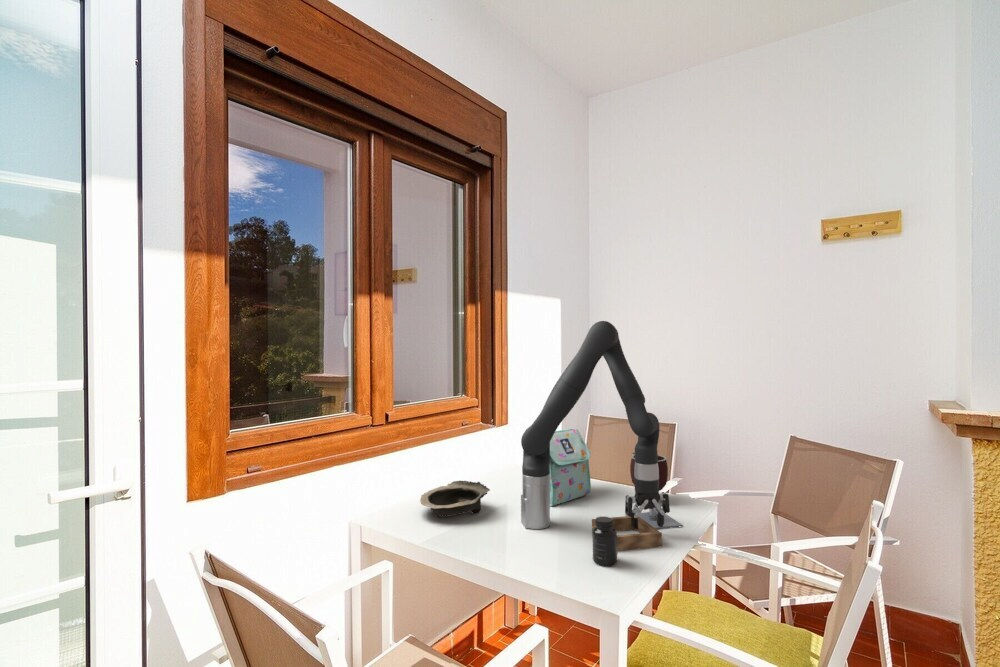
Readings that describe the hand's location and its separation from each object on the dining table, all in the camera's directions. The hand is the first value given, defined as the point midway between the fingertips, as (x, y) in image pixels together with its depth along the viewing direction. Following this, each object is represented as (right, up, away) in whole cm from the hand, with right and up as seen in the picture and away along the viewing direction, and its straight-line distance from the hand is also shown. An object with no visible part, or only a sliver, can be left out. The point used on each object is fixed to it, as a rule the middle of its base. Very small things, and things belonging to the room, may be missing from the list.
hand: (647, 527), depth 162 cm
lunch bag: (-23, -4, +40) cm, 46 cm away
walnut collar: (-8, -3, -2) cm, 8 cm away
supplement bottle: (-17, -3, -18) cm, 25 cm away
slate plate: (+6, -3, +13) cm, 15 cm away
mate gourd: (+10, -3, +34) cm, 35 cm away
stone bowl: (-64, -4, +23) cm, 68 cm away
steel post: (+6, -3, +13) cm, 15 cm away
